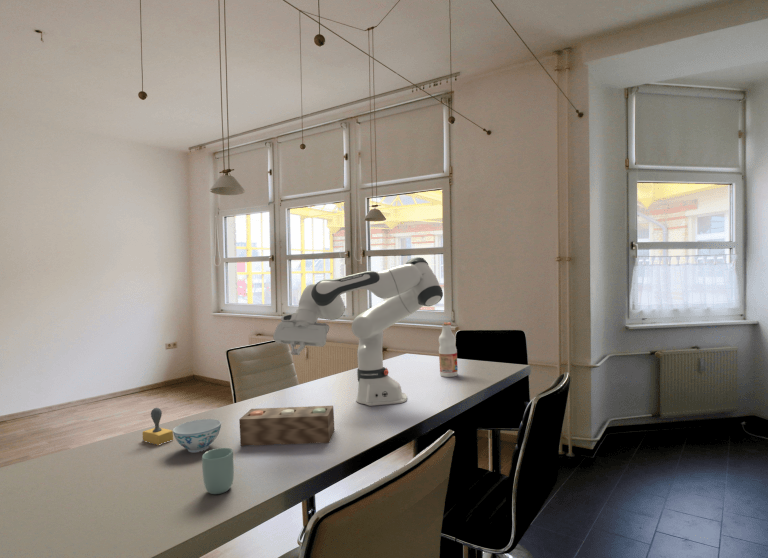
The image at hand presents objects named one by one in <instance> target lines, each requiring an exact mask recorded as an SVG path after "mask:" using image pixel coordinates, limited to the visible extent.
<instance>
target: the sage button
mask: <svg viewBox="0 0 768 558" xmlns="http://www.w3.org/2000/svg"><path fill="white" fill-rule="evenodd" d="M325 412H326V410H325V408H316V409H314V410H313V413H325Z"/></svg>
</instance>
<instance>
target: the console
mask: <svg viewBox="0 0 768 558" xmlns="http://www.w3.org/2000/svg"><path fill="white" fill-rule="evenodd" d="M316 408H325V410H326V412H325V413H313V410H314V409H316ZM287 409H293V410H294V414H284V415H281V411H283V410H287ZM258 410H261V411H263V414H262V415H259V416H250V413H251V412H253V411H258ZM334 411H335V410H334V405H314V406H313V405H311V406H291V407H290V406H288V407H285V406H284V407H266V408H265V407H263V408H262V407H260V408H251V409H249V410H248V411H247V412H246V413H244V415H243V416H242V417H240V418H239V436H240V437H239V438H240V446H241V447H245V446H244V445H254V446H273V445H274V444H281V445H297V444H298V445H303V444H306V445H308V444H329V443H330V442H331V439H332V437H333V435H334V433H335V431H334V430H335V413H334ZM274 446H275V445H274Z"/></svg>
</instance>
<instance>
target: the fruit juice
mask: <svg viewBox="0 0 768 558" xmlns="http://www.w3.org/2000/svg"><path fill="white" fill-rule="evenodd" d="M451 327H452V323H451V322H450V321H449V322H441V334H439V336H438V343H439V347H438V357H439V360H438V361H439V375H440V376H441V377H443V378H453V377H454V378H455V377H457V376H458V374H459V369H458V368H459V367H458V349H457V346H456V341H457V340H456V339H457V338H456V335H455V334H454V333H453V331H452V328H451Z"/></svg>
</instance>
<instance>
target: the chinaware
mask: <svg viewBox="0 0 768 558" xmlns="http://www.w3.org/2000/svg"><path fill="white" fill-rule="evenodd" d="M221 427H222V421H221V420H220V419H217V418H202V419H199V418H198V419H194V420H190V421H186V422H183V423H180V424H179V425H176V426H175V427H173V429H172V431H173V437H174V438H175V440H176V442H177V443H178V444H179V445H180V446H181V447H183V448H185V449H186V450H187V451H188V452H189V453H200V452H199V451H201V452H204V451H206V450H208V449H209V448H210V445H211V444H212V443H213V442H214V441H215V440H216V439H217V437H218V435H219V433H220V431H221V429H222V428H221ZM203 450H204V451H203Z"/></svg>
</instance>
